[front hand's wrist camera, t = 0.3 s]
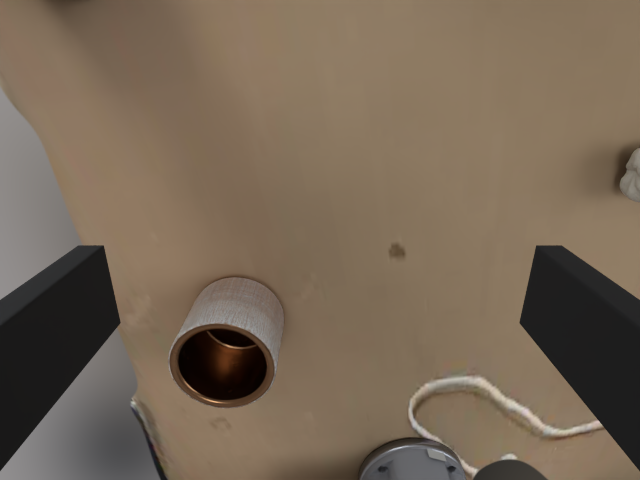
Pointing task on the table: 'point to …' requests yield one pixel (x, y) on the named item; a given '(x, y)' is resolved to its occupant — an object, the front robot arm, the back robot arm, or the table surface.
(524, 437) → the table surface
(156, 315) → the table surface
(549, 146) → the table surface
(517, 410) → the table surface
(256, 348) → the planter
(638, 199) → the dog toy
